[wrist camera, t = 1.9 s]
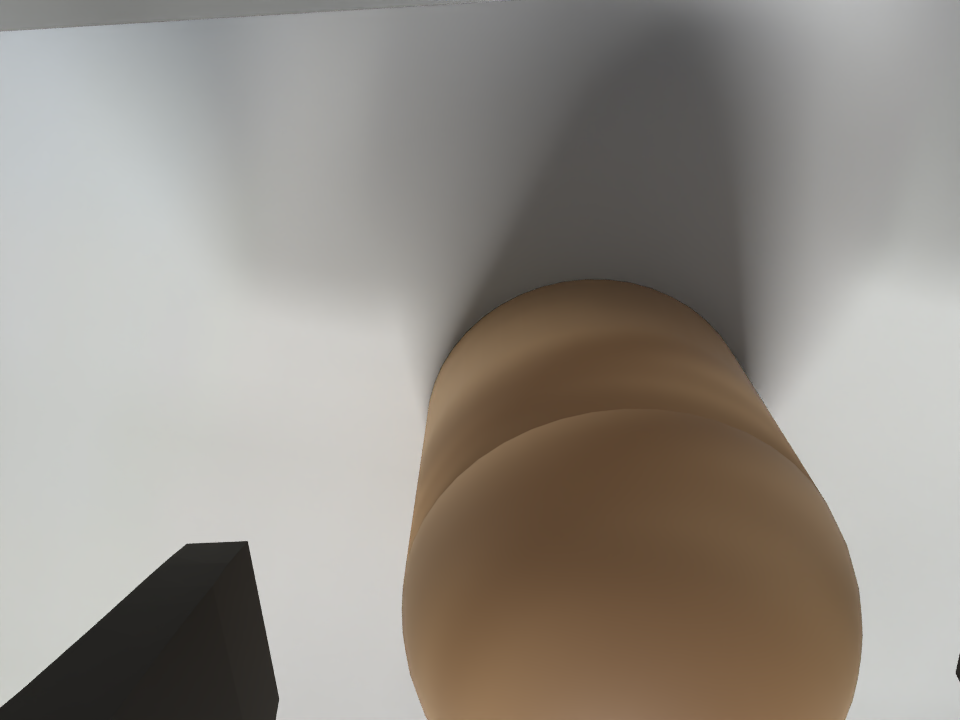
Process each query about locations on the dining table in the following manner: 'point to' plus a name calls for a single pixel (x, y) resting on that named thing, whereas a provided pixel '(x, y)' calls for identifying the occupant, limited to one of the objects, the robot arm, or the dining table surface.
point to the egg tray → (172, 10)
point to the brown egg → (618, 528)
